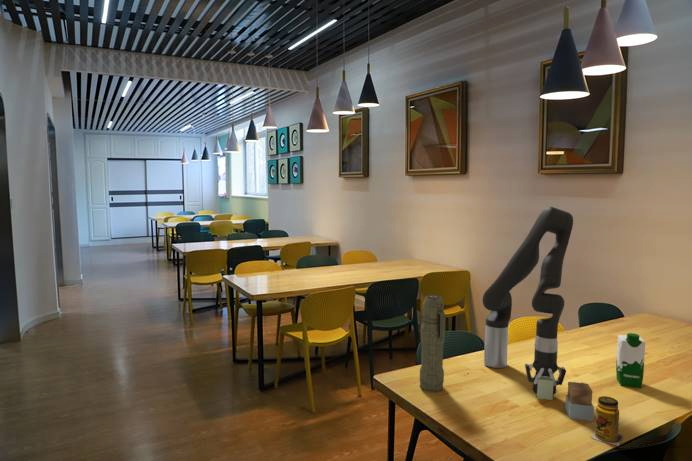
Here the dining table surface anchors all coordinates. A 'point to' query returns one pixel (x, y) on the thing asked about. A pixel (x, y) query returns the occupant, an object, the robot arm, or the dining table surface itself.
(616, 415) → the condiment
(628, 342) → the milk carton
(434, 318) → the thermos
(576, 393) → the tower top
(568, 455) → the dining table surface
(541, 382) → the green block
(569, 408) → the tower base
